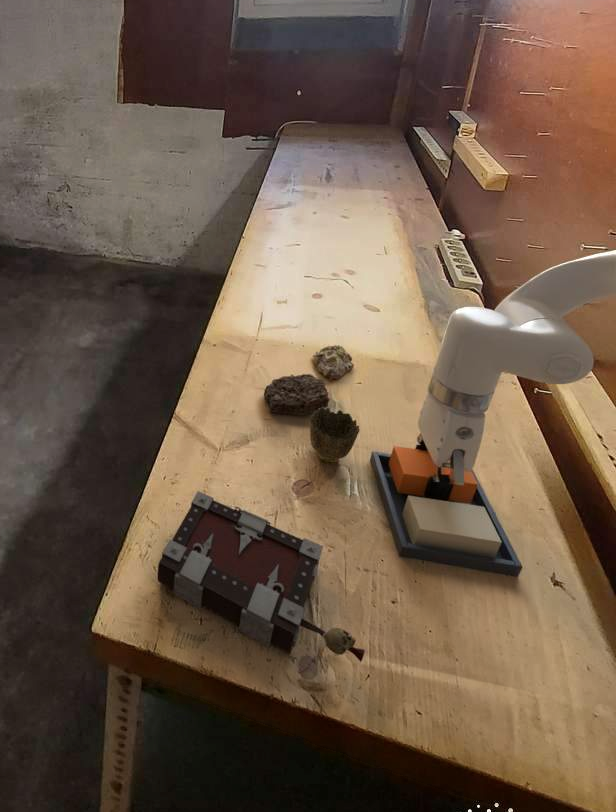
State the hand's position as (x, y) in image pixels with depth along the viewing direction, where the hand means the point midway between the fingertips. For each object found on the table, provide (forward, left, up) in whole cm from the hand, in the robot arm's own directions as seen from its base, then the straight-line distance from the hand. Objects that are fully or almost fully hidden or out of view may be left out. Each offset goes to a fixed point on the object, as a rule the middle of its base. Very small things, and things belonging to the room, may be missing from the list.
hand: (428, 480), depth 88 cm
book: (+26, +23, -3) cm, 35 cm away
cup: (+14, -4, -3) cm, 15 cm away
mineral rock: (+9, -32, -3) cm, 34 cm away
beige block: (0, +9, -2) cm, 9 cm away
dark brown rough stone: (+18, -18, -3) cm, 26 cm away
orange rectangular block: (0, 0, -1) cm, 1 cm away
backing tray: (0, +5, -2) cm, 5 cm away
